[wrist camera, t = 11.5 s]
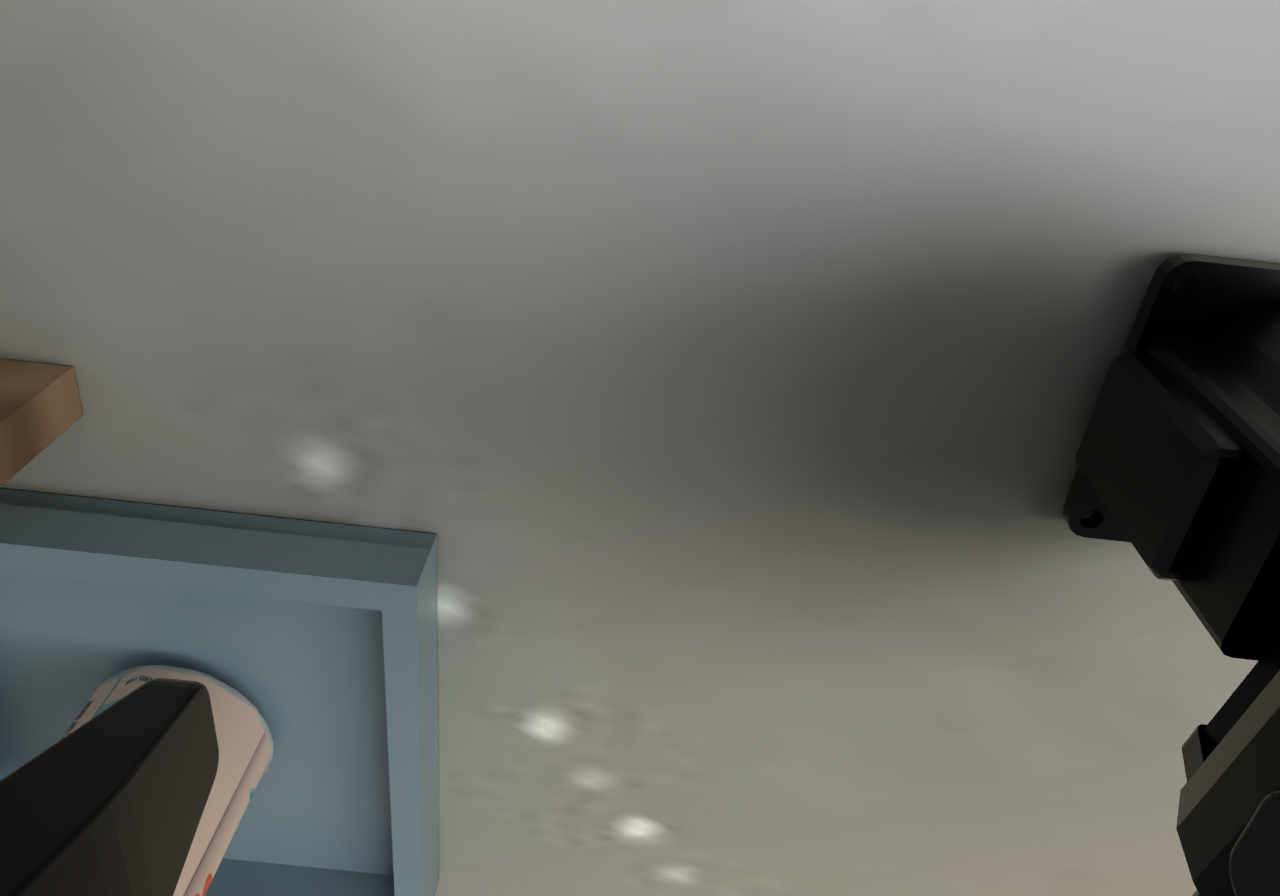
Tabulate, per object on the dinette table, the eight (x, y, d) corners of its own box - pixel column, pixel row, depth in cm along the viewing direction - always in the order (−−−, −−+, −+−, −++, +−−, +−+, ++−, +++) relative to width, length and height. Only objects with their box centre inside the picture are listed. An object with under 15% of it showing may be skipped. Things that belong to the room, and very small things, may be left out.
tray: (436, 534, 23) (416, 586, 21) (439, 878, 30) (424, 939, 28) (-110, 477, 23) (-175, 525, 21) (14, 836, 29) (-28, 895, 28)
